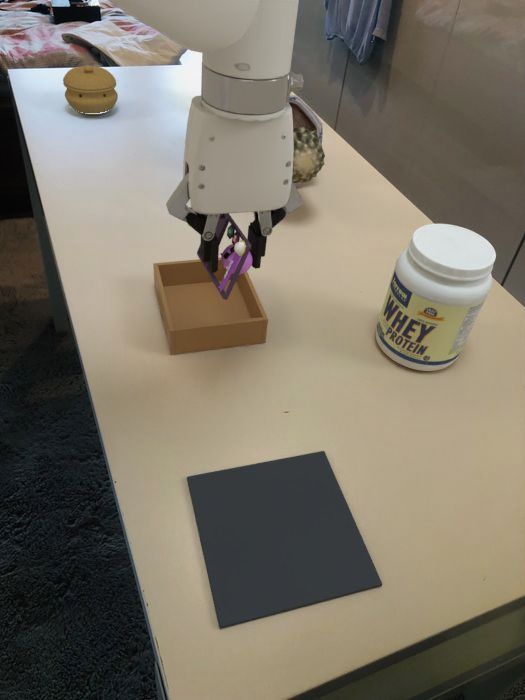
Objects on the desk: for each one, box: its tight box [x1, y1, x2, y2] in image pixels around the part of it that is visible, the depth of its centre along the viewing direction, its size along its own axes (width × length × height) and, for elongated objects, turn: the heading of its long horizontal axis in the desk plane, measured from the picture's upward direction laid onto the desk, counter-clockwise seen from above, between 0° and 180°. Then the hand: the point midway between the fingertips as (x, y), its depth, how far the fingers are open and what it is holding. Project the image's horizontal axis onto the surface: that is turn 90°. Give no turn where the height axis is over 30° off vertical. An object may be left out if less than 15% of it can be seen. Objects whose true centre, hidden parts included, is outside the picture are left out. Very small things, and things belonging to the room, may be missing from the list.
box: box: [152, 257, 269, 356], centre depth 79 cm, size 13×15×4 cm
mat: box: [186, 450, 383, 630], centre depth 57 cm, size 16×16×1 cm
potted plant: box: [289, 94, 326, 188], centre depth 103 cm, size 18×18×30 cm
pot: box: [62, 64, 119, 116], centre depth 127 cm, size 12×12×10 cm
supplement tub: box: [375, 223, 497, 372], centre depth 74 cm, size 12×12×17 cm
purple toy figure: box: [196, 213, 253, 300], centre depth 60 cm, size 7×5×9 cm
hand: (232, 261), depth 60 cm, fingers closed on purple toy figure, 4 cm apart
